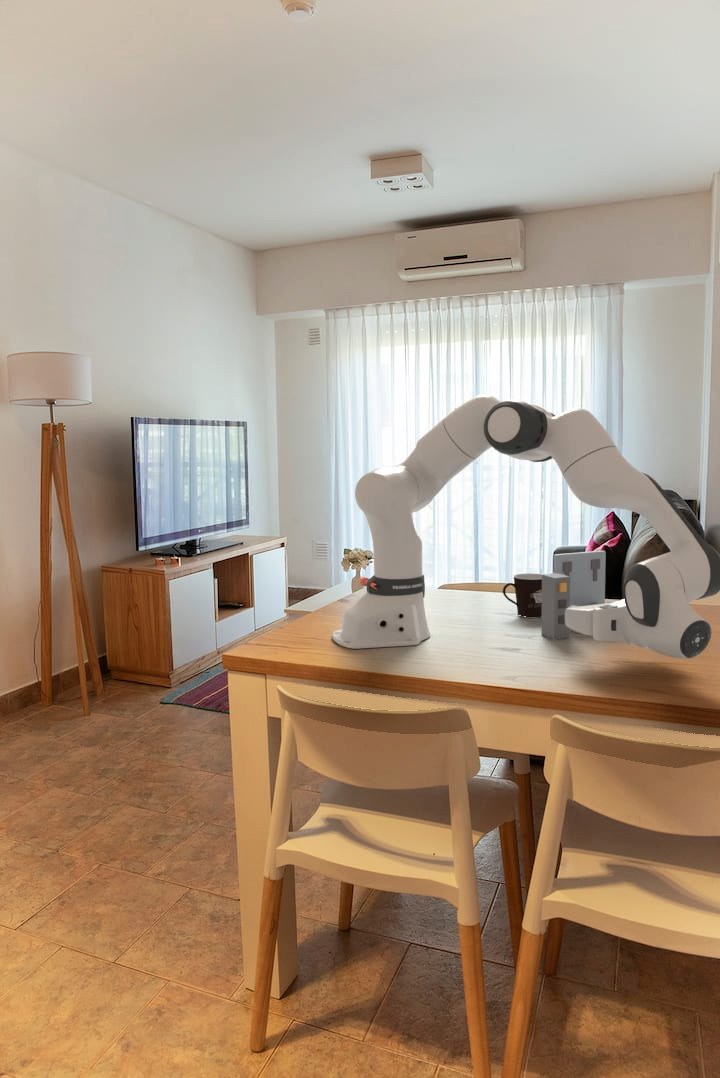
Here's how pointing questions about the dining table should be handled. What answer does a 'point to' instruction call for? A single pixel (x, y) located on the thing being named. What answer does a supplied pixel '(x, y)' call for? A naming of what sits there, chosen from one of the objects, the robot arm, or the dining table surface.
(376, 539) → the robot arm
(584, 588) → the grey l-shaped stand
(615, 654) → the dining table surface
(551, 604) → the grey tall rectangular block
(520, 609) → the coffee mug
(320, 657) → the dining table surface
